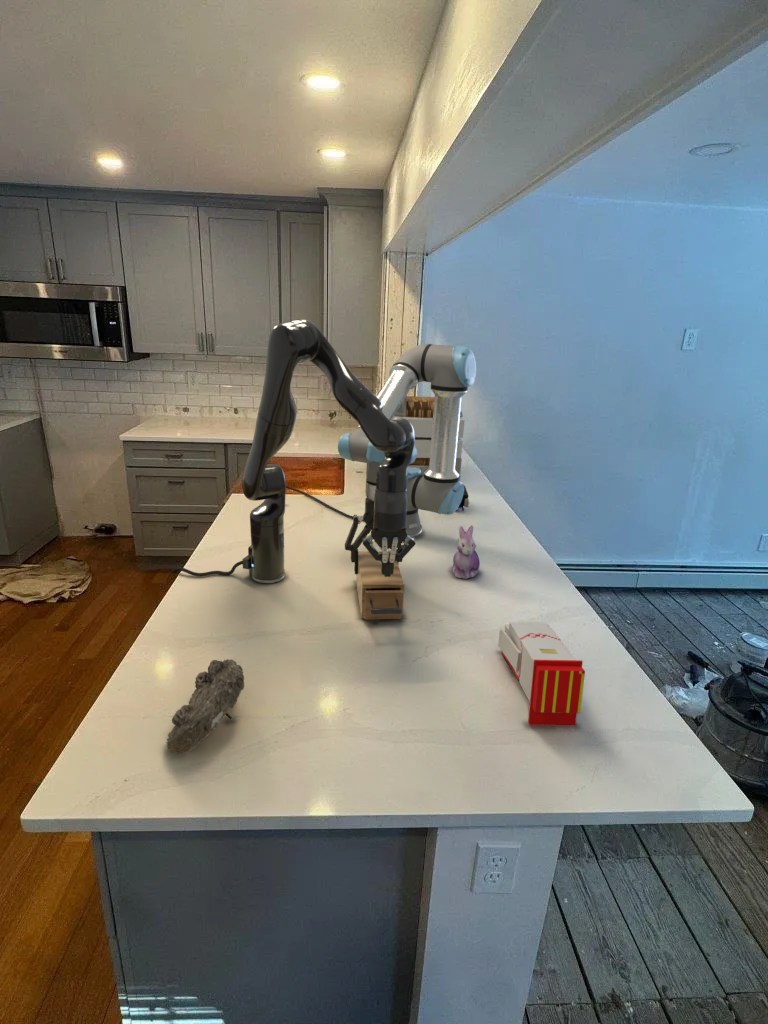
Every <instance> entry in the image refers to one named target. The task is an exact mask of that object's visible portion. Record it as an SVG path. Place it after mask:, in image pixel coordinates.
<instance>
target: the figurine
mask: <svg viewBox="0 0 768 1024" xmlns="http://www.w3.org/2000/svg"><path fill="white" fill-rule="evenodd" d="M458 533H459V535H458V536H459V537H458V538H459V539H458V541H457V544H456V547H457V548H456V549H457V551H456V553H455V554H454V555H453V561H452V563H453V565H452V568H451V571H452V573H453V574H454V576H455V577H456V578H458V579H465V580H466V579H469V578H474V577H476V576H477V574H478V573H479V570H480V569H479V568H480V564H481V563H480V562H481V561H480V557H479V554H478V552H477V551H476V549H477V548H476V546H477V545H476V542H475V540H474V537H473V533H474V525H473V524H471V525H469V527H468V529H467V530H465V529H464V527H463V526H462V525H460V526H459V527H458Z"/></svg>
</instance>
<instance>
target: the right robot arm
mask: <svg viewBox="0 0 768 1024" xmlns="http://www.w3.org/2000/svg"><path fill="white" fill-rule="evenodd" d="M388 373H389V377H388V378H387V380H386V381H385V383H384V385H383V386H382V388H381V389H380V390H379V393H378V394H377V396H376V397H377V398H378V399H379V400H380V401H381V402H382V405H383V410H382V412H383V414H384V415H385V416H386V417H387V418H388V419H389V420H392V419H393V417H394V415H395V414H396V412H397V410H398V409H399V407H400V405H401V404H402V402H403V401H404V399H405V397H406V396H408V394H409V392H410V391H411V390H413V389H415V388H416V387H417V385H418V384H419V383H422V382H424V383H425V382H426V383H430V390H431V392H432V393H433V394H434V397H435V399H434V412H433V425H432V437H431V450H430V462H429V465H428V468H427V469H426V470H424V472H423V474H422V470H421V468H419V467H414V466H411V467H410V466H409V467H408V479H407V515H406V531H407V534H408V536H410V537H413V538H414V540H415V539H418V538H420V537H421V536H422V535H423V525H422V524H421V518H420V515H419V510H421V511H426V512H429V513H436V514H438V515H445V516H451V515H453V514H454V513H456V512H457V511H458V509H459V508H458V507H459V505H460V503H461V500H462V497H463V494H464V486H465V484H464V483H463V482H462V481H461V480H460V481H459V474H458V473H457V472H456V470H455V465H456V454H457V444H458V433H459V423H460V412H462V403H463V402H462V401H463V396H464V395H466V394H467V393H468V389H469V388H470V387H472V386H473V385H474V383H475V379H476V377H477V363H476V357H475V355H474V352H473V350H472V349H471V348H469V347H466V346H461V345H451V344H450V345H449V344H432V343H421V344H418V345H415V346H413V347H411V348H410V349H408V350H407V351H405V352H404V353H403V354H401V356H399V357H398V358H397V359H396V360H395V362H394V363H393V364H392V366H391V367H390V369H389V372H388ZM337 451H338V454H339V456H340V457H341V458H342V459H345V460H348V461H351V462H357V463H358V462H359V463H364V464H366V475H365V476H366V479H365V500H364V514H363V515H358V514H353V515H349V514H348V513H345V512H343V511H341V510H339V509H337V508H335V507H333V506H332V505H329V504H328V503H326V502H324V501H322V500H320V499H318V498H316V497H315V496H313V495H311V494H309V493H307V492H305V491H302V490H300V489H297V488H294V487H292V486H288V485H286V489H288V490H291V491H294V492H296V493H299V494H301V495H304V496H306V497H309V498H311V499H312V500H314V501H316V502H318V503H320V504H321V505H322V506H324V507H326V508H328V509H330V510H332V511H334V512H336V513H338V514H340V515H342V516H344V517H347V518H349V519H352V524H351V526H350V529H349V532H348V534H347V537H346V539H345V542H344V550H345V551H350V562H351V563H354V568H353V569H354V570H353V571H354V575H356V574H358V552H359V547H360V546H361V544H363V542H362V538H363V537H368V536H369V535H370V534H371V531H372V529H373V522H374V498H375V491H376V474H377V467H378V465H379V464H380V463H381V461H382V460H383V459H384V455H385V454H384V453H382V452H380V451H379V450H377V449H376V448H375V447H374V446H373V445H372V444H371V443H370V441H369V440H368V438H367V437H366V435H365V434H364V432H363V430H362V429H361V427H360V425H359V424H358V426H357V428H356V429H355V430H354V431H353V432H349V433H347V432H346V433H344V434H342V435H341V436H340V437H339V439H338V443H337ZM416 457H417V449H416V447H415V445H414V448H413V453H412V457H411V461H410V464H412V463H413V462H414V461H415V459H416ZM410 464H409V465H410ZM456 510H457V511H456ZM362 521H363V522H364V523H365V525H364V526H363V528H362V530H361V532H360V533H359V534H358V536H357V537H356V539H355V540H354V538H355V536H356V533H357V530H358V527H359V525H360V524H361V523H362ZM353 540H354V542H353ZM404 541H405V540H404ZM404 541H403V542H402V544H401V545H400V546H399V547H398V548H397V550H396V553H397V552H398V550H399V549H400V548H401V547H402V546H403V545H404V544H405V543H404ZM403 561H404V558H403V559H402V560H400V561H399V560H397V562H398V566H399V564H400V563H403Z"/></svg>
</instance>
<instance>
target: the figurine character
mask: <svg viewBox="0 0 768 1024" xmlns="http://www.w3.org/2000/svg"><path fill="white" fill-rule="evenodd" d="M469 505H470V500H469V492H468V490H467V488H466V485H464V494H463V497H462V500H461V503H460V505H459V507H458V509H461V511H462V512H464V511H465V508H469ZM458 509H457V510H456V511H455V512H457V511H458Z"/></svg>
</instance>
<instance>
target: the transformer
mask: <svg viewBox="0 0 768 1024" xmlns="http://www.w3.org/2000/svg"><path fill="white" fill-rule="evenodd" d="M434 399H435V396H415V395H414V396H413V395H412V396H411V395H407V396H406V397H405V399H404V401H403V402H402V404H401V405H400V407H399V409H398V410H397V412H396V414H395V415H394V417H393V419H396V418H404V419H406V420H408V421H409V422H410V423H411V425H412V426H413V429H414V433H415V443H414V445H415V447H416V449H417V457H416V459H415V461H414V462H413V463H412V464H410V465H409V467H410V466H411V467H417V466H418V467H429V462H430V450H431V437H432V425H433V412H434ZM393 419H392V420H393ZM464 429H465V419H464V418H463V411H461V412H460V423H459V433H458V444H457V454H456V465H455V470H456V472H457V473H458V474H459V481H460V482H461V472H462V461H463V460H462V453H463V442H464V441H463V440H462V439H463V438H464V431H465V430H464Z"/></svg>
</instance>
